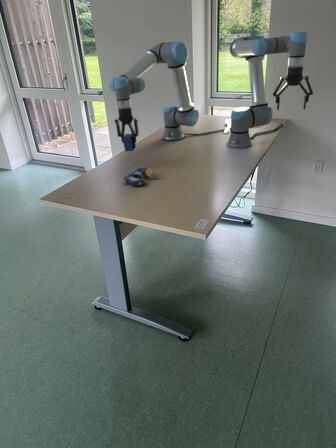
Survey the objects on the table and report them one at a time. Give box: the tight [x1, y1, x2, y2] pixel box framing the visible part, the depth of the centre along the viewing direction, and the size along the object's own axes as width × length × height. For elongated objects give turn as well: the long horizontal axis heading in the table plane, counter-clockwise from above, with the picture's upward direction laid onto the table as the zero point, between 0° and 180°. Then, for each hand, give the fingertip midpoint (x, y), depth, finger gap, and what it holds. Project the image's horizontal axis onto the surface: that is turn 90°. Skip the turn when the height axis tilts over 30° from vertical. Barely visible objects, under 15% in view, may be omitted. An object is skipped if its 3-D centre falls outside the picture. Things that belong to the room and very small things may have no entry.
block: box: [123, 133, 135, 152], centre depth 197 cm, size 5×6×9 cm
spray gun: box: [122, 166, 157, 187], centre depth 186 cm, size 21×4×15 cm
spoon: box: [223, 117, 231, 134], centre depth 262 cm, size 35×11×2 cm, turn 159°
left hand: (130, 147), depth 199 cm, fingers closed on block, 5 cm apart
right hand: (290, 109), depth 182 cm, fingers open, 13 cm apart
